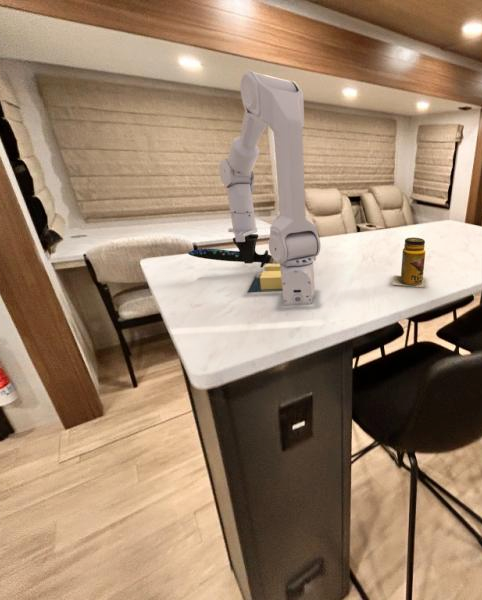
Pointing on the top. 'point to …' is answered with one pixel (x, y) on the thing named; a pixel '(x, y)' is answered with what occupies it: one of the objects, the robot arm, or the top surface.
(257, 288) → the butter dish
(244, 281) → the top surface
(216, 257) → the knife
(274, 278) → the yellow rectangular block
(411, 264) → the condiment
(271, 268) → the butter pat
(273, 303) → the top surface
